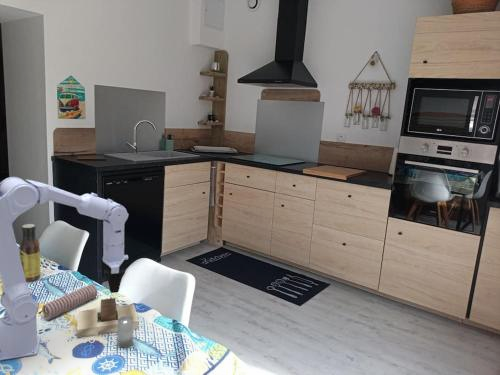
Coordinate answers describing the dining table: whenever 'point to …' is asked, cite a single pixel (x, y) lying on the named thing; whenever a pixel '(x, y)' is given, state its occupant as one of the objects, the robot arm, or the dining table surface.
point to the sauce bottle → (30, 253)
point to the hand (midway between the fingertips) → (113, 286)
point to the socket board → (91, 326)
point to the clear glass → (125, 332)
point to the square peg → (108, 309)
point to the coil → (69, 301)
